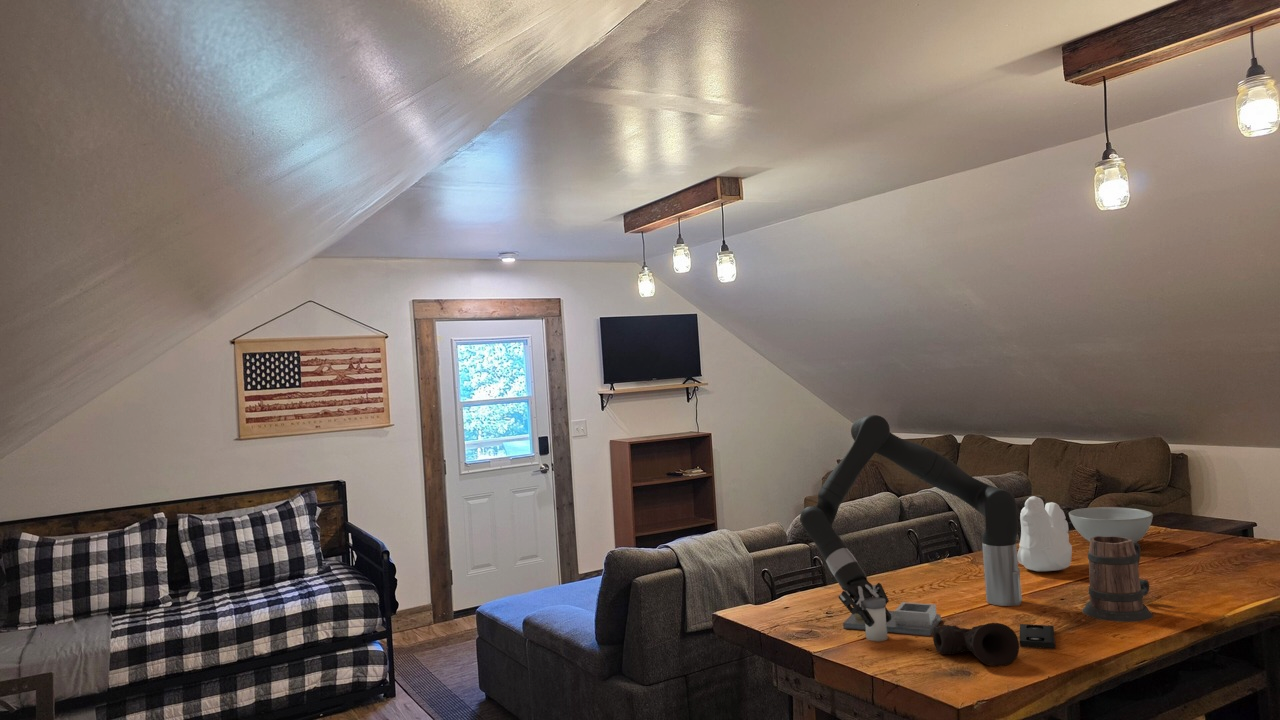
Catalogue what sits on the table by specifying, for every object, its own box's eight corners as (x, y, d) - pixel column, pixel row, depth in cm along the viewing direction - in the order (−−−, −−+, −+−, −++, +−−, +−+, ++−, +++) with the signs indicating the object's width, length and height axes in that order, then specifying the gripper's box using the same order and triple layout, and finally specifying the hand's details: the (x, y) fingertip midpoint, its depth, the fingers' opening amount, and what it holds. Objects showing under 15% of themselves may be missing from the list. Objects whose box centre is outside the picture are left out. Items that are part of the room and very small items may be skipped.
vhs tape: (1020, 631, 220) (1019, 623, 220) (1054, 633, 217) (1053, 625, 217) (1019, 648, 207) (1019, 640, 207) (1055, 651, 204) (1055, 642, 204)
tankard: (1131, 625, 217) (1125, 548, 218) (1069, 612, 232) (1063, 539, 232) (1178, 607, 229) (1172, 534, 230) (1116, 596, 244) (1110, 527, 244)
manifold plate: (941, 620, 233) (939, 601, 233) (930, 636, 220) (928, 616, 220) (858, 613, 244) (857, 596, 244) (843, 628, 231) (842, 610, 231)
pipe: (929, 617, 211) (955, 623, 196) (987, 616, 212) (1017, 622, 197) (933, 658, 209) (959, 667, 194) (991, 657, 210) (1022, 666, 195)
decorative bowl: (1055, 543, 318) (1053, 510, 318) (1121, 536, 320) (1119, 504, 321) (1102, 557, 291) (1099, 522, 291) (1173, 550, 294) (1170, 515, 294)
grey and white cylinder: (890, 635, 222) (887, 597, 222) (885, 642, 217) (882, 603, 217) (868, 633, 225) (865, 596, 225) (862, 640, 220) (860, 601, 220)
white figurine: (1047, 579, 267) (1041, 501, 267) (1006, 570, 281) (1000, 496, 282) (1099, 567, 278) (1093, 491, 278) (1057, 559, 292) (1051, 487, 293)
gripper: (831, 565, 225) (866, 620, 214) (871, 556, 231) (907, 609, 221) (819, 581, 229) (853, 636, 218) (859, 572, 236) (894, 625, 225)
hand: (880, 622), depth 220 cm, fingers closed on grey and white cylinder, 5 cm apart
